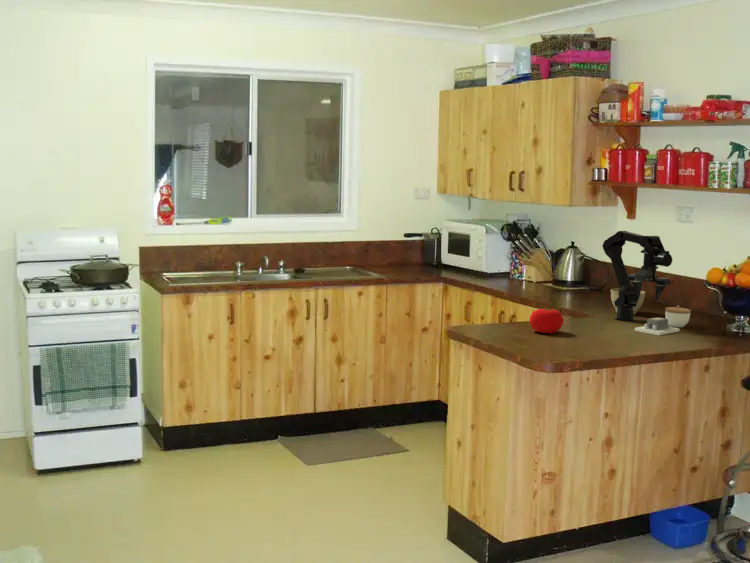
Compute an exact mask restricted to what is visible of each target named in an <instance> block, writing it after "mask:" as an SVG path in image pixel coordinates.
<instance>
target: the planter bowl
mask: <svg viewBox="0 0 750 563" xmlns="http://www.w3.org/2000/svg"><path fill="white" fill-rule="evenodd" d="M619 288H620V287H618V288H616V287H615V288H611V289H610V298H611V302H612V305H613V307H614V309H615V313H617V307H616V306H615V303H614V302H615V301H616V299H617V298H618V297H619V295H618V292H619ZM645 295H646V292H645V291H643V290H641V293H640V297H639V299H638V302H637V304H636V307H633V315H636V314H637V312H638V310H639V309H640V308H641V307H642V305H643V303H644V300H645Z"/></svg>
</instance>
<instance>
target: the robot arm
mask: <svg viewBox="0 0 750 563" xmlns="http://www.w3.org/2000/svg"><path fill="white" fill-rule="evenodd" d="M626 242H631V243H633V244H638V245H639V246H640V247H642V248H643V249H642V250H640V253H642V254H643V265H641V266H640V269H639V270H638V271H636V272H634V273H629V274H628V272H627V270H626V266H625V264H624V260H623V258H622V254H623V250H624V249H623V246H625V245H626ZM602 249H603V251H604V254H605V255H606V256H607V257H608V258H609V259H610V262H611V265H612V267H613V271H614V273H615V276H616V280H617V283H618V286H619V287H618V288H619V292H618V295H619V297H618V298H617V299H616V301H615V302H614V303H615V306H616V307H617V312H616V317H614V320H618V321H624V322H630V321H631V322H632V321H635V318H634V314H633V307H636V304H637V302H638V299H639V297H640V293H641V291H642V285H643V284H642V283H644V282H649V283H655V285H654V287H655V297H654V298H655V301H658V300H659V298H660V296H661V294H662V293H663V291H664V290H665V288H666V287H668V286H670V285H671V282H672V281H671V278H669V277H658V275H657V270H658V269H659V266H662V267H666V268H668V267H670V266H672V263H673V257H672V254H671V253H670V251H669V250H666V248H665V247H664V245H663V243H662V240H661V238H660V236H659V235H643V234H638V233H635V232H631V231H627V230H618V231H617V232H615V233H614V234H613V235H611V236H609V237H608V238H607V239H605V240H604V241H603V244H602Z"/></svg>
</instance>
